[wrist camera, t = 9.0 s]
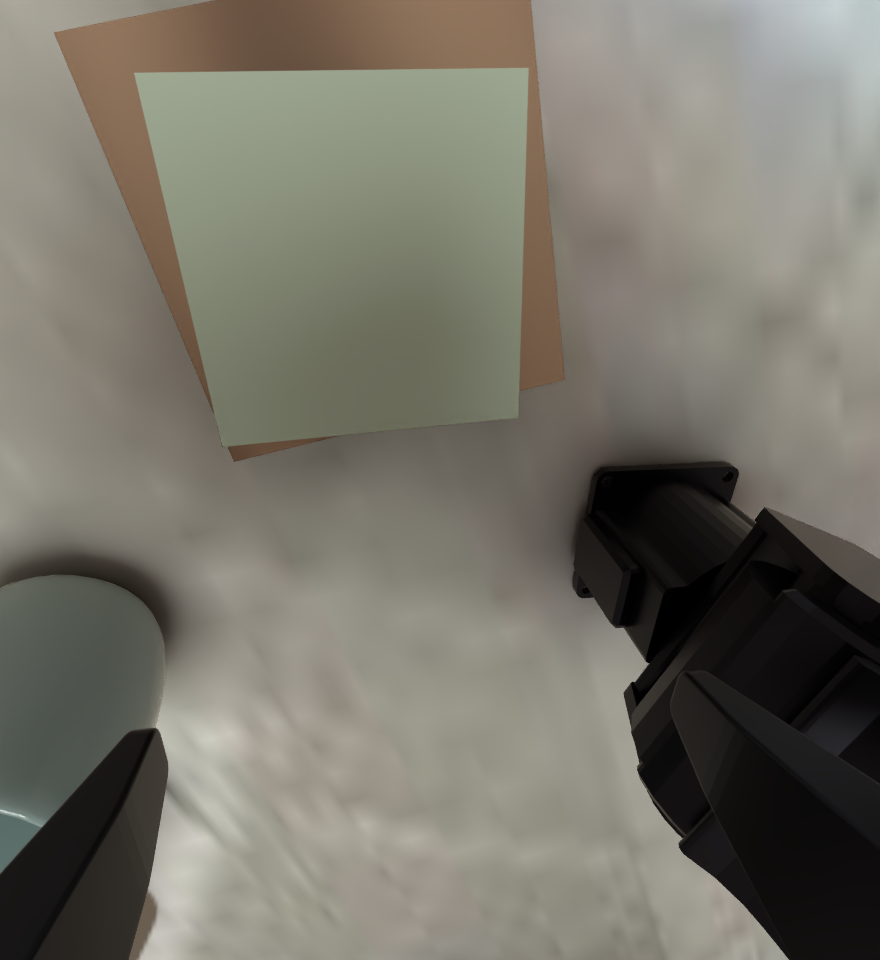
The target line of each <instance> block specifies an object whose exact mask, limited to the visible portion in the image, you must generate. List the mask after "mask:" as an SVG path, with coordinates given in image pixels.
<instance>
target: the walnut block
mask: <svg viewBox="0 0 880 960" xmlns="http://www.w3.org/2000/svg"><path fill="white" fill-rule="evenodd" d="M54 34H55V36H56V39H57V41H58V44H59V46H60V48H61V51H62V53H63V55H64V58H65V60H66V63H67V65H68V67H69V70H70V72H71V74H72V77H73V79H74V82H75V84H76V86H77V89H78V91H79V94H80V96H81V98H82V101H83V103H84V105H85V108H86V110H87V113H88V115H89V117H90V120H91V122H92V125H93V127H94V129H95V132H96V134H97V136H98V139H99V141H100V144H101V146H102V148H103V151H104V153H105V156H106V158H107V160H108V163H109V165H110V167H111V170H112V172H113V175H114V177H115V179H116V182H117V184H118V187H119V189H120V191H121V194H122V196H123V198H124V201H125V203H126V206H127V208H128V210H129V213H130V215H131V217H132V220H133V222H134V225H135V227H136V229H137V232H138V234H139V237H140V239H141V241H142V244H143V246H144V248H145V251H146V253H147V256H148V258H149V260H150V263H151V265H152V268H153V270H154V272H155V275H156V277H157V279H158V282H159V284H160V287H161V289H162V291H163V294H164V296H165V299H166V301H167V303H168V306H169V308H170V310H171V313H172V315H173V318H174V320H175V322H176V325H177V327H178V330H179V332H180V334H181V337H182V339H183V341H184V344H185V346H186V349H187V351H188V353H189V356H190V358H191V361H192V363H193V365H194V368H195V370H196V372H197V375H198V377H199V380H200V382H201V384H202V387H203V389H204V391H205V394H206V396H207V399H208V401H209V403H210V406H211V408H212V411H213V413H214V410H213V406H212V401H211V397H210V393H209V389H208V384H207V380H206V376H205V372H204V367H203V363H202V359H201V355H200V350H199V346H198V342H197V338H196V333H195V329H194V325H193V321H192V316H191V312H190V308H189V304H188V300H187V295H186V291H185V287H184V283H183V278H182V274H181V270H180V266H179V261H178V257H177V253H176V249H175V244H174V240H173V236H172V232H171V227H170V223H169V219H168V215H167V211H166V206H165V202H164V198H163V194H162V189H161V185H160V181H159V177H158V172H157V168H156V164H155V160H154V155H153V151H152V147H151V143H150V138H149V134H148V130H147V126H146V121H145V117H144V113H143V109H142V105H141V100H140V96H139V92H138V88H137V83H136V79H135V75H134V73H153V72H233V71H312V70H392V69H471V68H529V74H528V108H527V142H526V176H525V210H524V244H523V278H522V312H521V346H520V380H519V391H522V390H526V389H530V388H534V387H538V386H542V385H546V384H550V383H554V382H558V381H562V380H565V378H564V367H563V356H562V344H561V333H560V322H559V311H558V300H557V289H556V277H555V266H554V255H553V244H552V233H551V222H550V210H549V199H548V188H547V177H546V166H545V154H544V143H543V132H542V121H541V110H540V99H539V87H538V76H537V65H536V54H535V43H534V31H533V20H532V9H531V0H214V1H209V2H204V3H199V4H194V5H189V6H184V7H179V8H174V9H169V10H164V11H159V12H154V13H149V14H144V15H139V16H134V17H129V18H124V19H119V20H114V21H109V22H104V23H99V24H94V25H89V26H84V27H79V28H74V29H69V30H64V31H59V32H54ZM214 415H215V414H214ZM339 436H340V435H339ZM332 437H336V436H329V437H319V438H308V439H298V440H288V441H278V442H268V443H257V444H247V445H237V446H228V449H229V451H230V453H231V456H232V458H233V461H234V462H235V461H239V460H243V459H247V458H251V457H255V456H259V455H263V454H267V453H271V452H275V451H279V450H284V449H288V448H292V447H296V446H300V445H304V444H308V443H312V442H316V441H320V440H324V439H328V438H332Z"/></svg>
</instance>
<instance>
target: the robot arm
mask: <svg viewBox="0 0 880 960" xmlns="http://www.w3.org/2000/svg"><path fill="white" fill-rule="evenodd" d="M726 472H728V473H727V474H726V476H725V477H723V475H724V474H725V473H726ZM738 475H739V472H738V469H737V468H735V467H734V466H732V465H731V464H730V463H699V464H673V465H647V466H621V467H604V468H601V469H599V470H597V472H596V473H595V474H594V476H593V479H592V484H591V490H590V495H589V501H588V506H587V512H586V515H585V516H584V517H583V518H582V520H581V525H580V531H579V536H578V542H577V547H576V553H575V559H574V567H575V569H576V571H575V577H574V582H573V589H574V590H575V592H576V594H577V595H578V596H579V597H581V598H592V597H594V598H595V600H596V602H597V603H598V605H599V606H600V608H601V609H602V611H603V612H604V614H605V615H606V617H607V619H608V620H609V622H610V623H611V624H612V625H613V626H614V627H615V628H624V629H625V631H626V632H627V634H628V635H629V637H630V638H631V640H632V641H633V643H634V644H635V646H636V647H637V649H638V650H639V652H640V653H641V655H642V656H643V658H644V659H645V661H646V662H647V663H649V665H648V666H647V667H646V668H645V670H644V671H643V672H642V674H641V675H640V676H639V678H638V679H637V680H636V682H631V683H630V685H629V686H628V687H627V689H626V690H625V691H624V698H625V703H626V707H627V711H628V716H629V720H630V724H631V733H632V736H633V739H634V742H635V746H636V750H637V755H638V759H639V763H640V764H639V765H638V766H637V771H638V774H639V777H640V780H641V781H642V783H643V785H644V786H645V788H646V789H647V792H648V794H649V795H650V797H651V799H652V801H653V804H654V805H655V806H656V808H657V809H658V811H659V812H660V813H661V815H662V816H663V818H664V819H665V820H666V821H667V822H668V824H669V825H670V826H671V827H672V828H673V829H674V830H675V831H676V833H677V834H678V835H680V836H681V837H682V838H683V839H682V840H681V841H680V842H679V848H680V850H681V851H682V853H683V854H684V855H686V856H687V857H688V858H689V859H691V860H692V861H693V862H695V863H696V864H697V865H699V866H700V867H701V868H703V869H704V870H705V871H707V872H708V873H710V874H711V875H712V876H714V877H715V878H716V879H717V880H718V881H719V882H720V883H721V884H722V885H723V886H724V887H725V888H726V889H727V890H728V891H730V892H731V893H732V894H733V895H734V896H735V897H736V898H737V899H738V900H739V901H740V902H741V903H742V904H743V905H744V906H745V907H746V908H747V909H748V911H749V912H750V913H751V914H752V915H753V916H754V918H755V919H756V920H757V921H758V922H759V923H760V924H761V926H762V927H763V928H764V929H765V930H766V932H767V933H768V934H769V935H770V937H771V938H772V939H773V940H774V942H775V943H776V944H777V945H778V946H779V948H780V949H781V950H782V951H783V953H784V954H785V955H786V956H787V958H788V959H789V960H880V559H878V558H877V557H875V556H873V555H872V554H870V553H868V552H867V551H865V550H864V549H862V548H860V547H859V546H857V545H855V544H853V543H851V542H848V541H846V540H843V539H841V538H839V537H836V536H834V535H831V534H829V533H827V532H824V531H822V530H819V529H817V528H815V527H812V526H810V525H807V524H805V523H803V522H800V521H798V520H795V519H793V518H791V517H788V516H786V515H783V514H781V513H779V512H776V511H774V510H771V509H769V508H767V507H764V508H763V510H762V511H761V512H760V514H759V515H758V516H757V517H756V519H755V521H756V522H757V523H756V522H754V521H753V520H752V519H750V518H749V517H748V516H747V515H745V514H744V513H743V512H741V511H740V510H739V509H738V508H736V507H735V506H734V505H733V504H731V503H730V501H731V498H732V495H733V492H734V489H735V485H736V482H737V479H738ZM606 477H610V478H609V480H608V481H607V482H606V483H602V482H603V480H604V479H605V478H606ZM722 477H723V478H722ZM585 585H586V586H587V587H585V588H582V587H584V586H585ZM167 778H168V761H167V757H166V753H165V749H164V745H163V742H162V738H161V734H160V732H159V730H158V729H156V728H146V729H136V730H131V731H129V732H128V733H127V734H125V735H124V736H123V738H122V739H121V740H120V741H119V742H118V743H117V744H116V745H115V746H114V748H113V749H112V750H111V751H110V752H109V753H108V754H107V755H106V756H105V758H104V759H103V760H102V761H101V762H100V763H99V764H98V765H97V766H96V768H95V769H94V770H93V771H92V772H91V773H90V774H89V775H88V776H87V777H86V779H85V780H84V781H83V782H82V783H81V784H80V785H79V786H78V787H77V789H76V790H75V791H74V792H73V793H72V794H71V795H70V796H69V797H68V799H67V800H66V801H65V802H64V803H63V804H62V805H61V806H60V807H59V809H58V810H57V811H56V812H55V813H54V814H53V815H52V816H51V817H50V819H49V820H48V821H47V822H46V823H45V824H44V825H43V826H42V827H41V829H40V830H39V831H38V832H37V833H36V834H35V835H34V836H33V837H32V838H31V840H30V841H29V842H28V843H27V844H26V845H25V846H24V847H23V848H22V850H21V851H20V852H19V853H18V854H17V855H16V856H15V857H14V858H13V860H12V861H11V862H10V863H9V864H8V865H7V866H6V867H5V868H4V870H3V871H2V872H1V873H0V960H129V956H130V952H131V949H132V945H133V942H134V938H135V934H136V931H137V927H138V924H139V920H140V917H141V913H142V909H143V906H144V902H145V898H146V894H147V890H148V886H149V882H150V877H151V872H152V866H153V861H154V855H155V849H156V843H157V837H158V831H159V825H160V819H161V813H162V808H163V802H164V796H165V790H166V784H167Z"/></svg>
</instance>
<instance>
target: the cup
mask: <svg viewBox="0 0 880 960" xmlns="http://www.w3.org/2000/svg"><path fill="white" fill-rule="evenodd" d="M165 675H166V655H165V645H164V639H163V636H162V632H161V629H160V626H159V624H158V622H157V620H156V618H155V617H154V615H153V613H152V611H151V610H150V609H149V608H148V607H147V605H146V604H145V603H144V602H143V601H142V600H141V599H140V598H138V597H137V596H135V595H134V594H132V593H131V592H129V591H128V590H126V589H124V588H122V587H120V586H118V585H115V584H113V583H110V582H107V581H103V580H100V579H97V578H91V577H85V576H78V575H57V574H56V575H44V576H36V577H32V578H28V579H24V580H20V581H16V582H12V583H9V584H7V585H5V586H2V587H0V873H1V872H2V871H3V870H4V868H5V867H6V866H7V865H8V864H9V863H10V862H11V861H12V860H13V858H14V857H15V856H16V855H17V854H18V853H19V852H20V851H21V850H22V848H23V847H24V846H25V845H26V844H27V843H28V842H29V841H30V840H31V838H32V837H33V836H34V835H35V834H36V833H37V832H38V831H39V830H40V829H41V827H42V826H43V825H44V824H45V823H46V822H47V821H48V820H49V819H50V817H51V816H52V815H53V814H54V813H55V812H56V811H57V810H58V809H59V807H60V806H61V805H62V804H63V803H64V802H65V801H66V800H67V799H68V797H69V796H70V795H71V794H72V793H73V792H74V791H75V790H76V789H77V787H78V786H79V785H80V784H81V783H82V782H83V781H84V780H85V779H86V777H87V776H88V775H89V774H90V773H91V772H92V771H93V770H94V769H95V768H96V766H97V765H98V764H99V763H100V762H101V761H102V760H103V759H104V758H105V756H106V755H107V754H108V753H109V752H110V751H111V750H112V749H113V748H114V746H115V745H116V744H117V743H118V742H119V741H120V740H121V739H122V738H123V736H124V735H125V734H127V733H128V732H129V731H131V730H136V729H146V728H156V725H157V721H158V716H159V711H160V707H161V702H162V697H163V691H164V684H165Z"/></svg>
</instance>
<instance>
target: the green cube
mask: <svg viewBox="0 0 880 960" xmlns="http://www.w3.org/2000/svg"><path fill="white" fill-rule="evenodd" d="M528 74H529V68H471V69H392V70H312V71H233V72H153V73H134V75H135V79H136V83H137V88H138V92H139V96H140V100H141V105H142V109H143V113H144V117H145V121H146V126H147V130H148V134H149V138H150V143H151V147H152V151H153V155H154V160H155V164H156V168H157V172H158V177H159V181H160V185H161V189H162V194H163V198H164V202H165V206H166V211H167V215H168V219H169V223H170V227H171V232H172V236H173V240H174V244H175V249H176V253H177V257H178V261H179V266H180V270H181V274H182V278H183V283H184V287H185V291H186V295H187V300H188V304H189V308H190V312H191V316H192V321H193V325H194V329H195V333H196V338H197V342H198V346H199V350H200V355H201V359H202V363H203V367H204V372H205V376H206V380H207V384H208V389H209V393H210V397H211V401H212V406H213V410H214V414H215V418H216V422H217V427H218V431H219V435H220V439H221V444H222V447H227V446H237V445H247V444H257V443H268V442H278V441H288V440H298V439H308V438H319V437H329V436H339V435H349V434H360V433H370V432H380V431H390V430H400V429H411V428H421V427H431V426H441V425H452V424H462V423H472V422H482V421H492V420H503V419H513V418H518V413H519V380H520V346H521V312H522V278H523V244H524V210H525V176H526V142H527V108H528Z"/></svg>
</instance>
